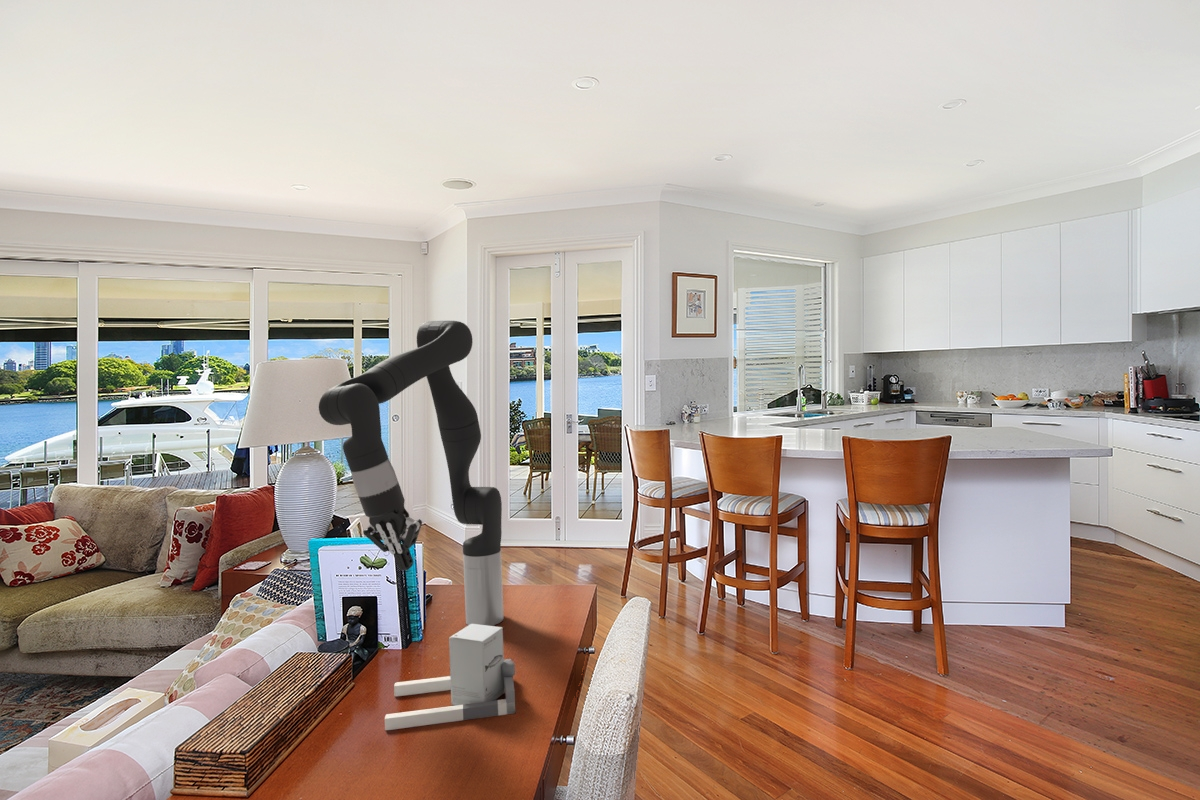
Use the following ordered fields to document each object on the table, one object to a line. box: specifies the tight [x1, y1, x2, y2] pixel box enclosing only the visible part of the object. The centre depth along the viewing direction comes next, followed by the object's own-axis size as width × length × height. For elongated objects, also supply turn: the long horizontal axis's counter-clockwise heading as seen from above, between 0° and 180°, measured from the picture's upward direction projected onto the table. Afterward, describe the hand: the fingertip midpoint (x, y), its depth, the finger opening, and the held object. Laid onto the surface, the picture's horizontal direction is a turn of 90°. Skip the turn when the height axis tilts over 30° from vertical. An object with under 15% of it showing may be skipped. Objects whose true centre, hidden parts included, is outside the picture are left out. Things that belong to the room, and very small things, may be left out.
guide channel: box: [384, 658, 516, 731], centre depth 116 cm, size 14×22×6 cm, turn 101°
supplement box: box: [448, 624, 505, 706], centre depth 117 cm, size 7×7×13 cm
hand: (406, 568), depth 122 cm, fingers closed
